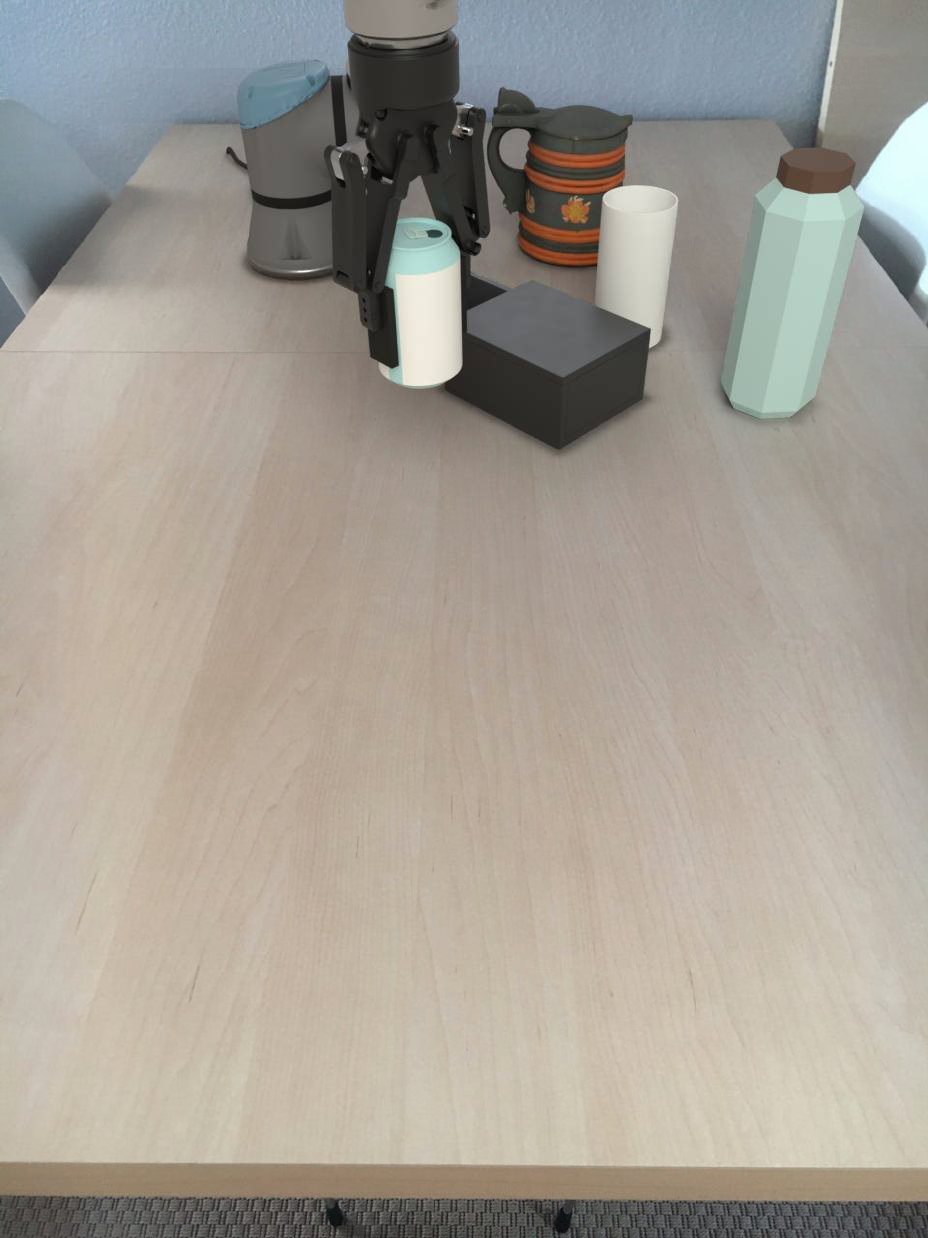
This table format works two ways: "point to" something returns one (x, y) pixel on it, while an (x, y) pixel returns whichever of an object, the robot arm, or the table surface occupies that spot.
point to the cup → (636, 254)
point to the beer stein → (559, 174)
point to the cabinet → (550, 362)
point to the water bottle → (791, 282)
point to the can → (425, 303)
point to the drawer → (483, 290)
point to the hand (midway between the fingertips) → (419, 343)
